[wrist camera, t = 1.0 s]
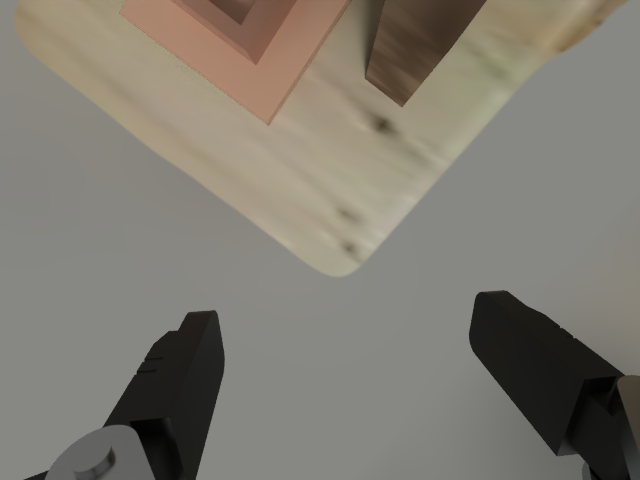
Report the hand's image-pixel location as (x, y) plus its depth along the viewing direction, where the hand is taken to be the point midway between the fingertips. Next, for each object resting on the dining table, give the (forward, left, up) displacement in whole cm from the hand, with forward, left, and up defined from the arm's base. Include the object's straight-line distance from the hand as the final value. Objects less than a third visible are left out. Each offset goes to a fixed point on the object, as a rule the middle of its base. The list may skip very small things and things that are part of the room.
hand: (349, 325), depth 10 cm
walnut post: (-14, +4, -20) cm, 24 cm away
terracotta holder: (-20, -9, -20) cm, 29 cm away
